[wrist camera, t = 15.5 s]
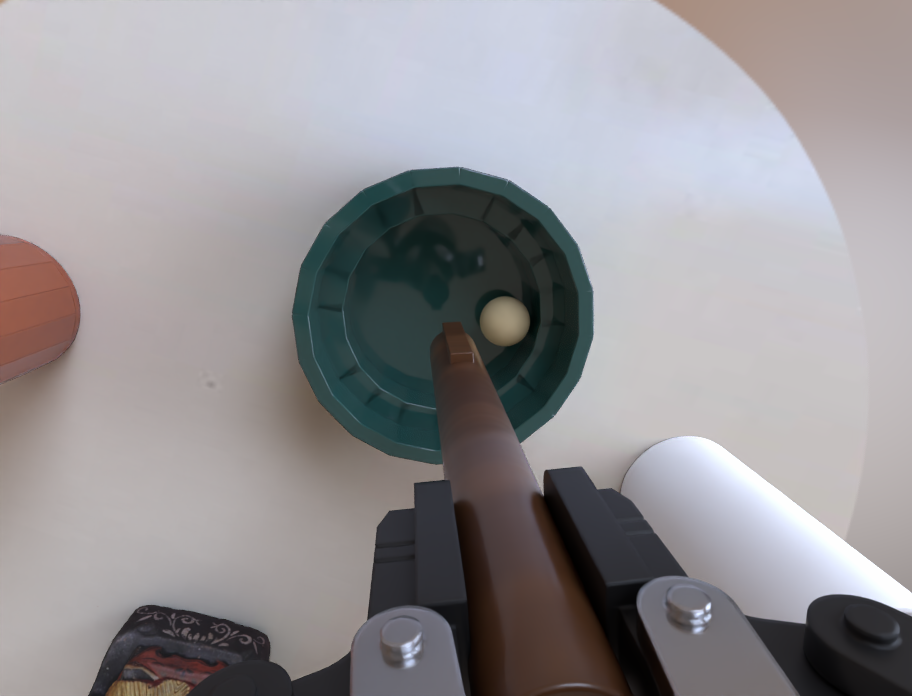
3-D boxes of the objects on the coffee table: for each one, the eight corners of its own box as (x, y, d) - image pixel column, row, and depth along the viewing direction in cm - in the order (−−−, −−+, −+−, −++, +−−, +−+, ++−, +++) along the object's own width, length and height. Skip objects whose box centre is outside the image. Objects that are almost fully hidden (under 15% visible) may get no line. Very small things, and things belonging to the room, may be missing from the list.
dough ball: (524, 291, 32) (522, 289, 29) (535, 338, 32) (535, 340, 29) (477, 303, 33) (471, 302, 30) (489, 349, 33) (483, 353, 30)
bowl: (298, 184, 30) (271, 179, 25) (559, 167, 31) (593, 157, 25) (331, 430, 34) (314, 476, 28) (564, 409, 35) (594, 449, 29)
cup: (596, 484, 36) (732, 689, 21) (701, 411, 36) (922, 567, 20) (659, 568, 38) (827, 811, 23) (760, 500, 38) (1002, 705, 22)
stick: (427, 323, 23) (475, 673, 6) (474, 320, 23) (655, 654, 6) (431, 381, 24) (482, 849, 7) (477, 378, 24) (644, 830, 7)
